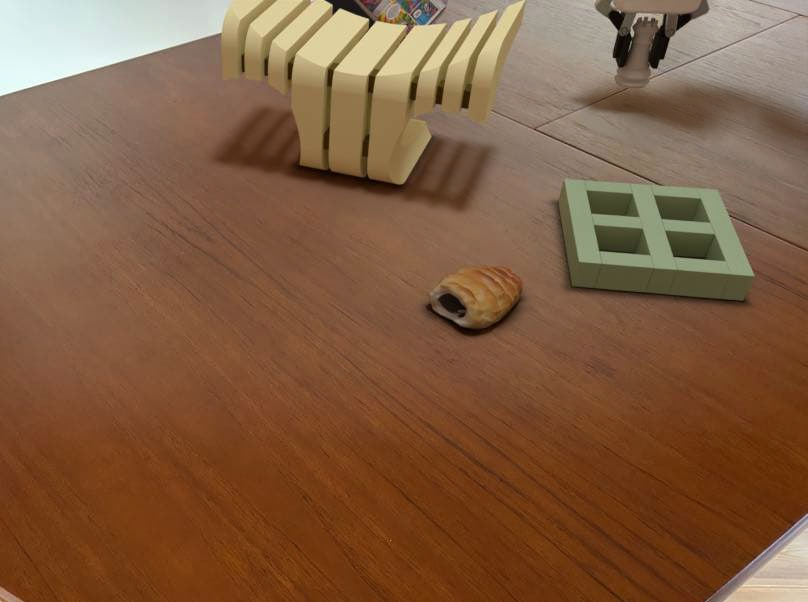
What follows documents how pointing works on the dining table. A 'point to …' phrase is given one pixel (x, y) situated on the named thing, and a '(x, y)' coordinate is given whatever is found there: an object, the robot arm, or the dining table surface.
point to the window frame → (652, 240)
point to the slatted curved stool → (366, 77)
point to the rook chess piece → (638, 55)
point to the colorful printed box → (394, 11)
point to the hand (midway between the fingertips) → (636, 62)
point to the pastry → (476, 295)
